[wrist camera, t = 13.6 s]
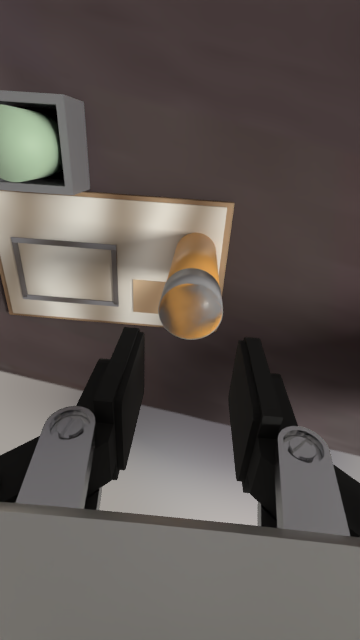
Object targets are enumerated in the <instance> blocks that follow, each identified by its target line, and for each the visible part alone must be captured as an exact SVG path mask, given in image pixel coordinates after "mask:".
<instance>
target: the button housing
mask: <svg viewBox="0 0 360 640" xmlns="http://www.w3.org/2000/svg"><path fill="white" fill-rule="evenodd" d="M0 104H2V105H7V106H12V107H13V106H18V107H33V108H48V109H57V118H58V127H59V136H60V145H61V154H62V164H63V173H64V180H59V179H45V178H38V179H33V180H28V181H23V182H10V181H6V180H4V179H1V178H0V190H7V191H20V192H34V193H47V194H61V195H76V194H78V193H81V192H84V191H86V190H89V189H90V180H89V166H88V152H87V139H86V125H85V112H84V102H83V101H80V100H77V99H74V98H72V97H69V96H66V95H63V94H48V93H33V92H17V91H2V90H0Z"/></svg>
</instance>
